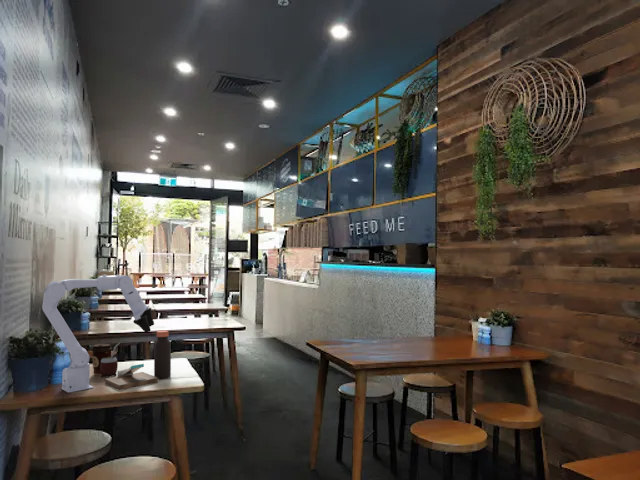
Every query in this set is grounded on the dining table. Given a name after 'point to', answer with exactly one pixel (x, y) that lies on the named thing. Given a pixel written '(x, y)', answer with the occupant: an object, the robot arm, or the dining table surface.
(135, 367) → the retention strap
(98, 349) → the dark brown jar
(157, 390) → the dining table surface
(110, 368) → the mate gourd
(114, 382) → the base plate
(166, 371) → the bottle
